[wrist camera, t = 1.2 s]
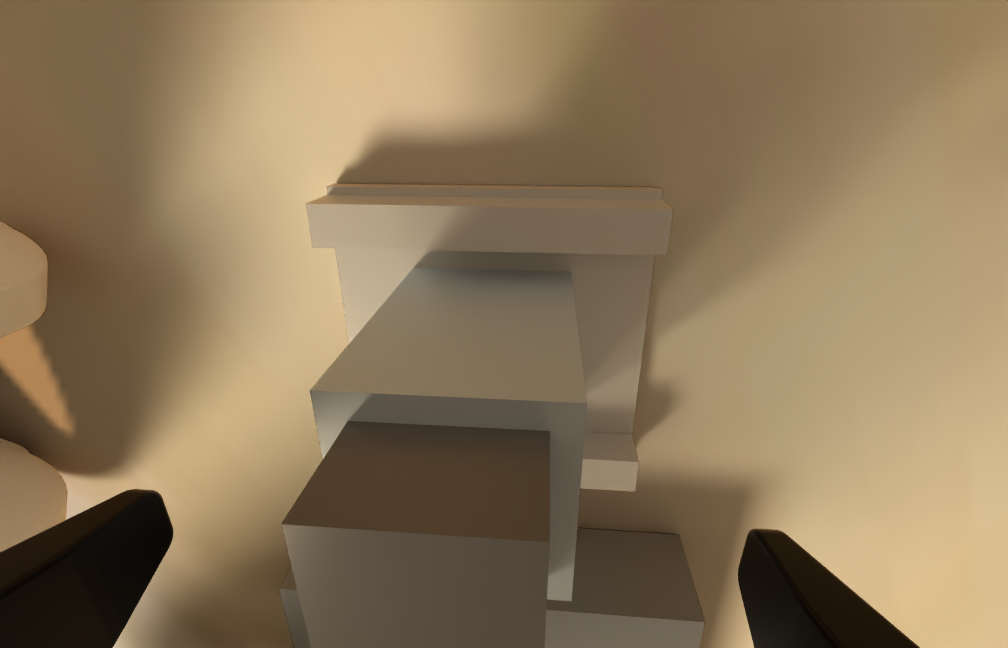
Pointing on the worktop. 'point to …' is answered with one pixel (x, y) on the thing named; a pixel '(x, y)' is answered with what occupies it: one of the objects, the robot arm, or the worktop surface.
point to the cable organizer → (3, 464)
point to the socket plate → (602, 596)
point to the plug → (446, 467)
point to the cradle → (518, 246)
